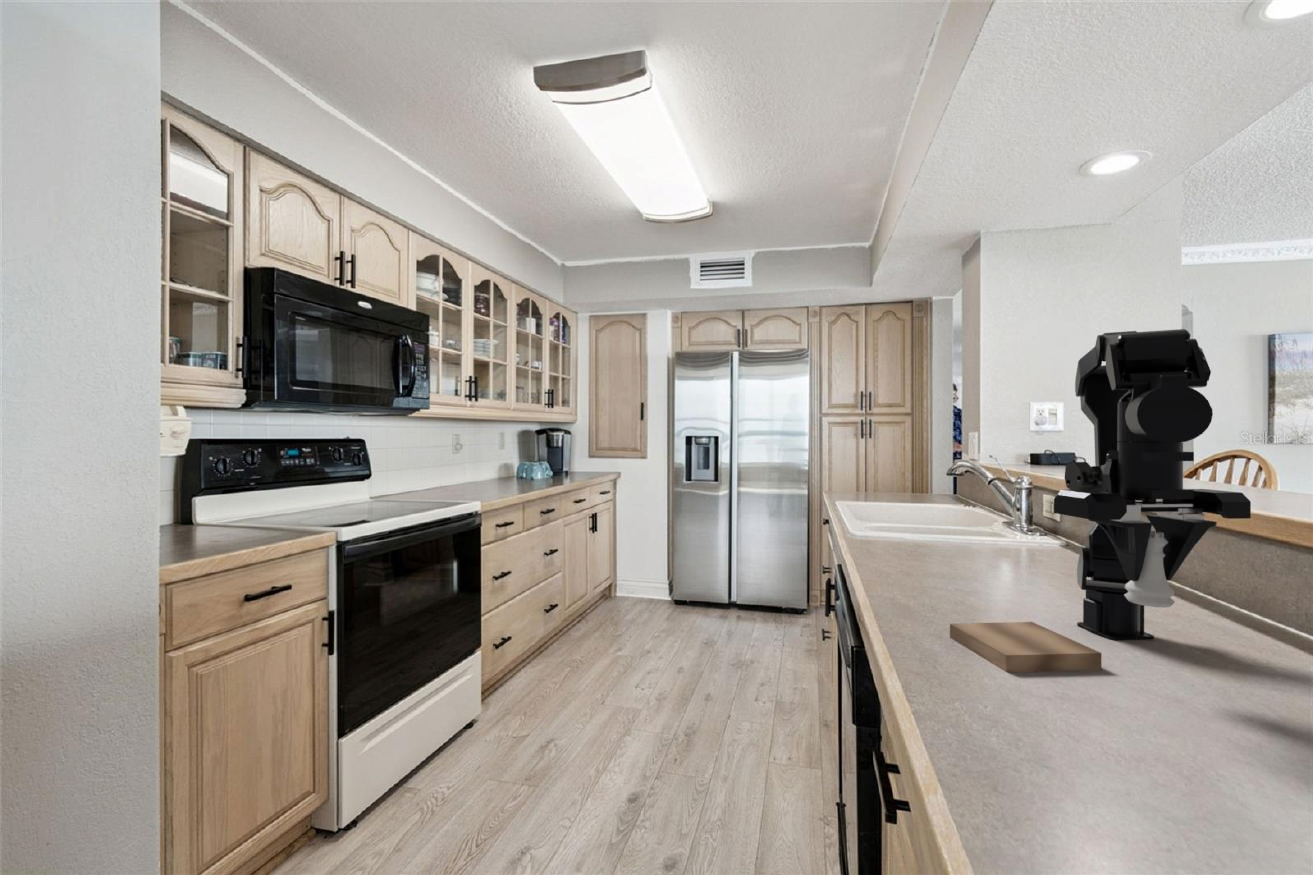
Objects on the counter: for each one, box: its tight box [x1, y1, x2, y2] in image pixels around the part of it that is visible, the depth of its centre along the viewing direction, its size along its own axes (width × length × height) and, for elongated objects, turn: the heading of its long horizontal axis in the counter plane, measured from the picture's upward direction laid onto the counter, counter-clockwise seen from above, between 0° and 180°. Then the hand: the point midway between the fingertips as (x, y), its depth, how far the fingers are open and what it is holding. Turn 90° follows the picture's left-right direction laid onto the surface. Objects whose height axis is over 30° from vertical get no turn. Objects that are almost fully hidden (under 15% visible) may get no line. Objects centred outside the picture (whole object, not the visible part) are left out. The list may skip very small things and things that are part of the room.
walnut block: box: [949, 621, 1102, 673], centre depth 77 cm, size 12×12×2 cm
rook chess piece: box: [1124, 530, 1176, 608], centre depth 67 cm, size 4×4×8 cm
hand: (1148, 580), depth 67 cm, fingers closed on rook chess piece, 3 cm apart
